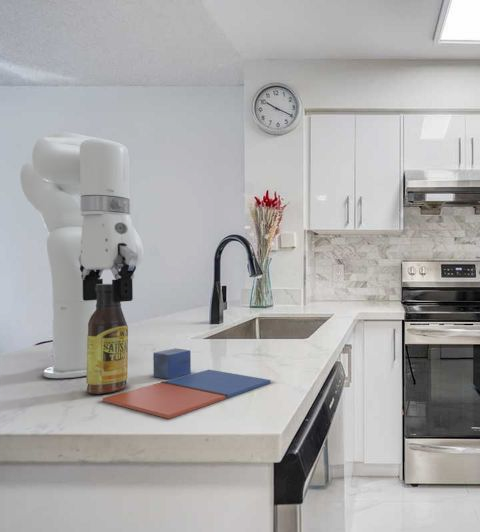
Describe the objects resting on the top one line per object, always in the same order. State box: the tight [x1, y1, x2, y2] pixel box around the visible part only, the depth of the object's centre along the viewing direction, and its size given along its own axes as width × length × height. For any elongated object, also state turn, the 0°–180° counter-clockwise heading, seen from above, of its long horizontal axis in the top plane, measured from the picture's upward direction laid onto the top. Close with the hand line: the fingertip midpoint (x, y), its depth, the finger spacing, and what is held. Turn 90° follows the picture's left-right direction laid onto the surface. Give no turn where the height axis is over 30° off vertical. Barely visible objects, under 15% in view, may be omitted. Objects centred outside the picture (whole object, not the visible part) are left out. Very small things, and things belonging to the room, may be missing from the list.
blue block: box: [152, 347, 192, 380], centre depth 88 cm, size 5×5×5 cm
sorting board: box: [102, 369, 272, 420], centre depth 76 cm, size 18×21×1 cm
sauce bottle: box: [85, 283, 129, 395], centre depth 77 cm, size 7×6×20 cm
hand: (107, 300), depth 77 cm, fingers open, 9 cm apart
